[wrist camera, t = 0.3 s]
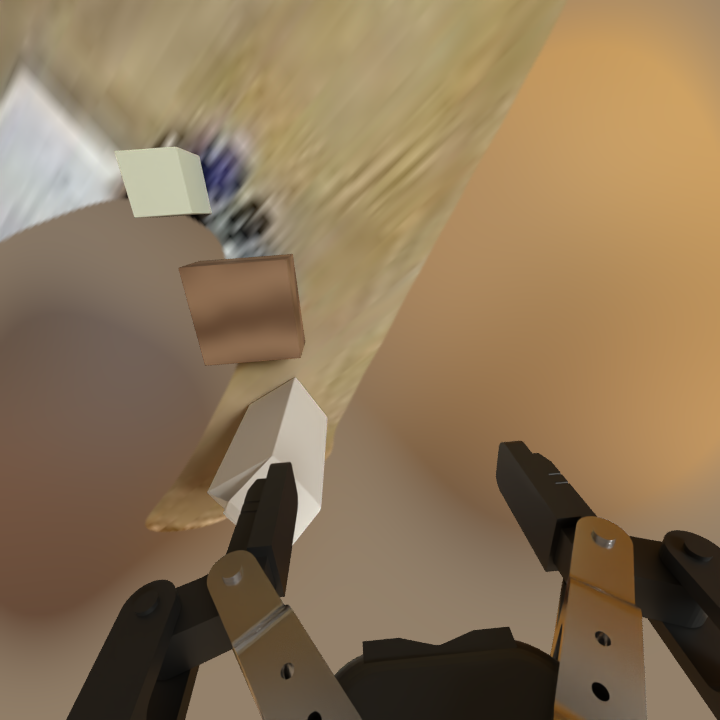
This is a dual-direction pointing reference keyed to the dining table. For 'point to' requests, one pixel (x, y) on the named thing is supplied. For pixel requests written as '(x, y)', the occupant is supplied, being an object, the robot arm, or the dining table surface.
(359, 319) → the dining table surface
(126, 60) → the dining table surface
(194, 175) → the sage cube
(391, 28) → the dining table surface
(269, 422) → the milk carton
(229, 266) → the walnut block
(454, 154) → the dining table surface
